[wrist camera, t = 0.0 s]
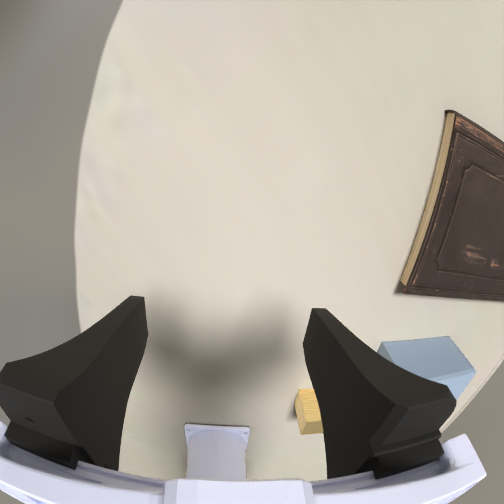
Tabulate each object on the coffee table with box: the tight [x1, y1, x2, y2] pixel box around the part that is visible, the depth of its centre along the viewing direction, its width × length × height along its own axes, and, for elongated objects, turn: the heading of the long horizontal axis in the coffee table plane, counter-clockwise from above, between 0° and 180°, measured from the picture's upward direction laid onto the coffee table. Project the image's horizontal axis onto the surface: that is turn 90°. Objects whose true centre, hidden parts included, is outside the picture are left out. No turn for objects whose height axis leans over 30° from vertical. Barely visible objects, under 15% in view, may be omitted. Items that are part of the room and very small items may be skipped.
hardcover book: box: [400, 110, 504, 301], centre depth 22 cm, size 16×23×2 cm
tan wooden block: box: [294, 389, 323, 435], centre depth 28 cm, size 3×5×4 cm, turn 84°
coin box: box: [378, 336, 476, 400], centre depth 27 cm, size 12×10×6 cm
